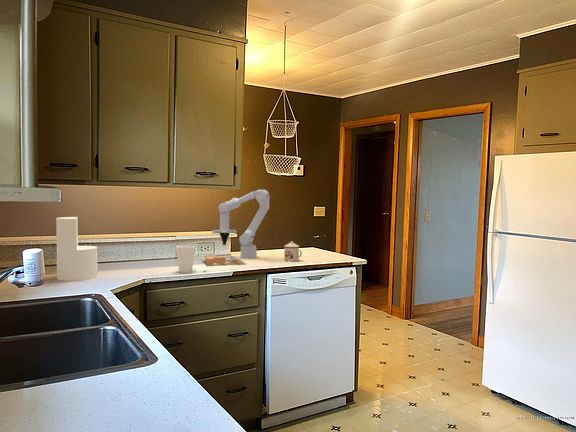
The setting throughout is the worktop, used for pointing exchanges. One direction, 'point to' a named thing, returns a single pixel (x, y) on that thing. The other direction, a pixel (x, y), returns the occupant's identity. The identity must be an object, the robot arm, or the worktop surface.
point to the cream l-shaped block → (73, 253)
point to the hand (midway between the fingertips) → (224, 244)
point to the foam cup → (185, 258)
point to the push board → (227, 263)
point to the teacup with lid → (292, 252)
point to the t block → (214, 260)
